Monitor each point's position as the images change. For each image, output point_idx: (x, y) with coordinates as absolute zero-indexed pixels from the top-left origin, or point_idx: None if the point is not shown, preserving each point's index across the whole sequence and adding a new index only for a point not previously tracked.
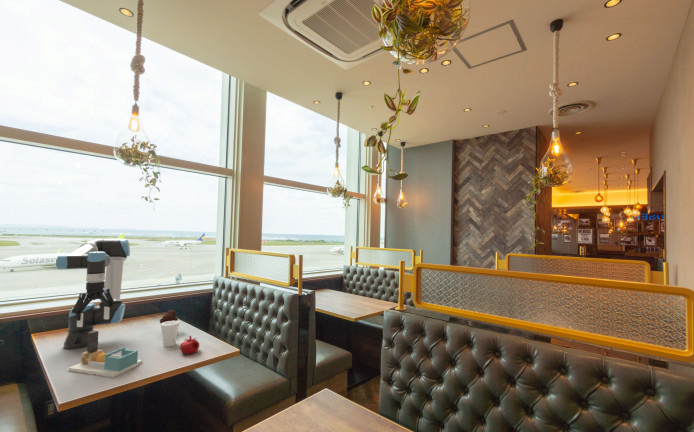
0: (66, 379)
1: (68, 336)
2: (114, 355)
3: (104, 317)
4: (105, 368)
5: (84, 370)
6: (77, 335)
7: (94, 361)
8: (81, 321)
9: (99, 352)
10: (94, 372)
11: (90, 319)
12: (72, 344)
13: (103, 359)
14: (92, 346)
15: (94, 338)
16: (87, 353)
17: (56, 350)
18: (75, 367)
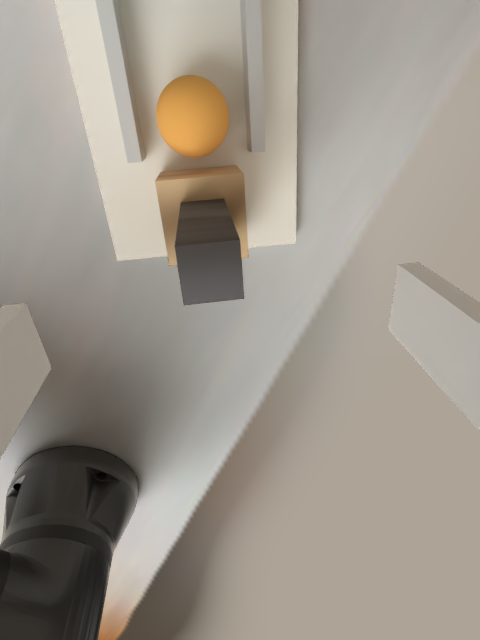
0: (371, 135)
1: (118, 536)
2: (122, 74)
3: (38, 371)
4: None
5: (296, 121)
6: (95, 516)
7: (212, 168)
8: (466, 294)
9: (180, 177)
10: (296, 23)
11: (11, 591)
12: (122, 481)
13: (205, 79)
14: (223, 207)
15: (213, 224)
16: (241, 214)
17: (164, 491)
18: (284, 213)
